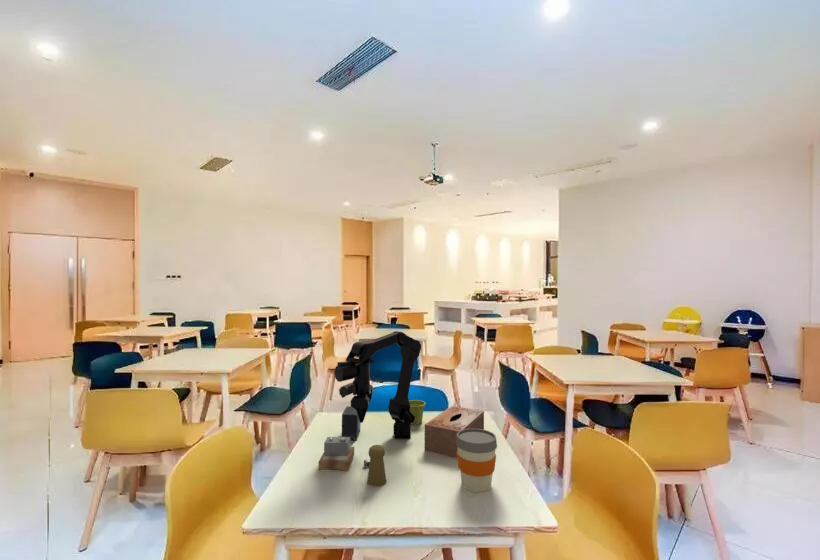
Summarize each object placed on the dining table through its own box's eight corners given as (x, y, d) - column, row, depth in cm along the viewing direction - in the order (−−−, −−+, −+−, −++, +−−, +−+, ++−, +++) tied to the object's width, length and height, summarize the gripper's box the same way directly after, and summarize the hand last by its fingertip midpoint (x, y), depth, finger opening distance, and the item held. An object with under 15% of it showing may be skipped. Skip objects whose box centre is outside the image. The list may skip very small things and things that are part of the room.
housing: (327, 449, 138) (327, 434, 138) (350, 449, 138) (350, 435, 138) (324, 455, 133) (324, 440, 133) (347, 456, 133) (347, 440, 133)
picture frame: (354, 454, 141) (354, 445, 141) (348, 470, 129) (348, 460, 129) (326, 454, 141) (326, 445, 141) (318, 470, 129) (318, 460, 129)
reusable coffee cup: (467, 470, 129) (467, 425, 129) (503, 481, 122) (503, 433, 122) (448, 486, 119) (448, 437, 119) (486, 499, 112) (486, 447, 112)
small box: (357, 441, 154) (357, 414, 154) (341, 440, 154) (341, 414, 154) (361, 431, 164) (361, 406, 164) (345, 430, 164) (346, 406, 164)
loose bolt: (380, 462, 135) (380, 456, 135) (381, 465, 133) (381, 459, 133) (363, 465, 133) (363, 458, 133) (365, 468, 131) (365, 461, 131)
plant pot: (403, 425, 171) (403, 405, 171) (406, 418, 180) (406, 399, 180) (424, 426, 169) (424, 406, 169) (426, 419, 179) (426, 400, 179)
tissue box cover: (460, 459, 138) (460, 431, 138) (424, 451, 145) (424, 424, 145) (483, 435, 160) (483, 411, 160) (451, 429, 167) (451, 405, 167)
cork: (371, 488, 118) (371, 452, 118) (364, 479, 123) (364, 444, 123) (389, 483, 121) (389, 448, 121) (381, 475, 126) (381, 441, 126)
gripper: (344, 370, 155) (345, 409, 155) (335, 383, 136) (336, 428, 136) (372, 370, 155) (373, 409, 155) (367, 383, 136) (368, 427, 136)
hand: (363, 417), depth 145 cm, fingers open, 9 cm apart
